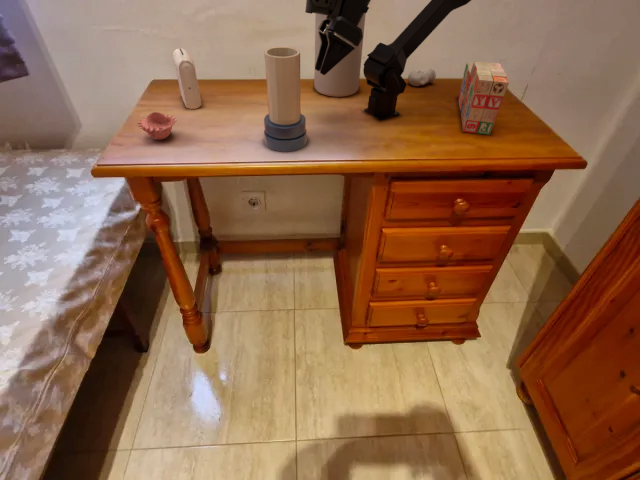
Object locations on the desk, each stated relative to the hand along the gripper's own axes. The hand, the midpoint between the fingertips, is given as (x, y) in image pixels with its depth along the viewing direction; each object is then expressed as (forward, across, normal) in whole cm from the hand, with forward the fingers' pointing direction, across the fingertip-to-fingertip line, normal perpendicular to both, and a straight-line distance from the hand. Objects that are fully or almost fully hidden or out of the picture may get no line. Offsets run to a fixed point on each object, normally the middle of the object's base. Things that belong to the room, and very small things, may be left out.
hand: (319, 71), depth 79 cm
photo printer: (+22, -20, -23) cm, 38 cm away
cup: (+11, +4, -3) cm, 12 cm away
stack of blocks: (-9, -8, +41) cm, 43 cm away
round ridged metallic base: (+16, +2, 0) cm, 16 cm away
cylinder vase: (+2, -26, +10) cm, 29 cm away
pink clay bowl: (+28, -1, -24) cm, 37 cm away
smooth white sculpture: (-10, -29, +33) cm, 45 cm away
